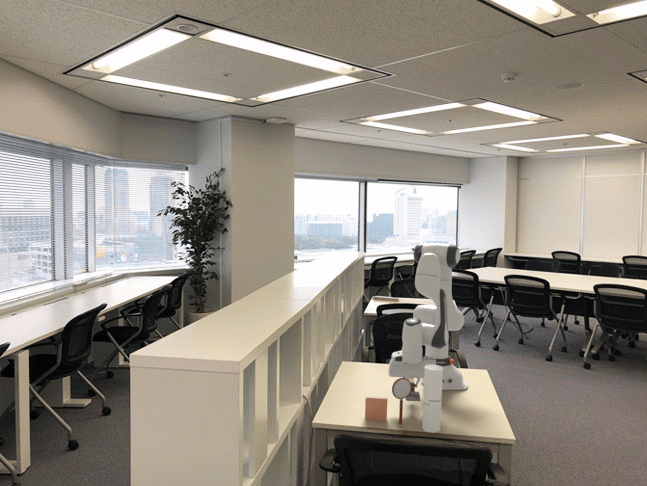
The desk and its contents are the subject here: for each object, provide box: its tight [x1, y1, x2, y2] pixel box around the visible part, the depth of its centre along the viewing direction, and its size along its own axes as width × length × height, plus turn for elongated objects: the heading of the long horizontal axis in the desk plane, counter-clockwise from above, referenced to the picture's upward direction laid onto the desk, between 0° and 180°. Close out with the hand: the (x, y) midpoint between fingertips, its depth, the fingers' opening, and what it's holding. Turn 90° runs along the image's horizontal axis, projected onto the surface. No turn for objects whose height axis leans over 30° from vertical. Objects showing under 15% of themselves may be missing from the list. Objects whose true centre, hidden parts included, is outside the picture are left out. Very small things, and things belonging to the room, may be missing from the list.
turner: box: [405, 377, 421, 402], centre depth 219 cm, size 22×6×4 cm, turn 174°
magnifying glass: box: [391, 377, 412, 427], centre depth 200 cm, size 9×2×20 cm, turn 110°
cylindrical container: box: [421, 364, 443, 433], centre depth 198 cm, size 7×7×25 cm
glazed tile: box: [364, 395, 388, 421], centre depth 207 cm, size 9×2×9 cm, turn 84°
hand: (411, 386), depth 219 cm, fingers closed on turner, 2 cm apart
